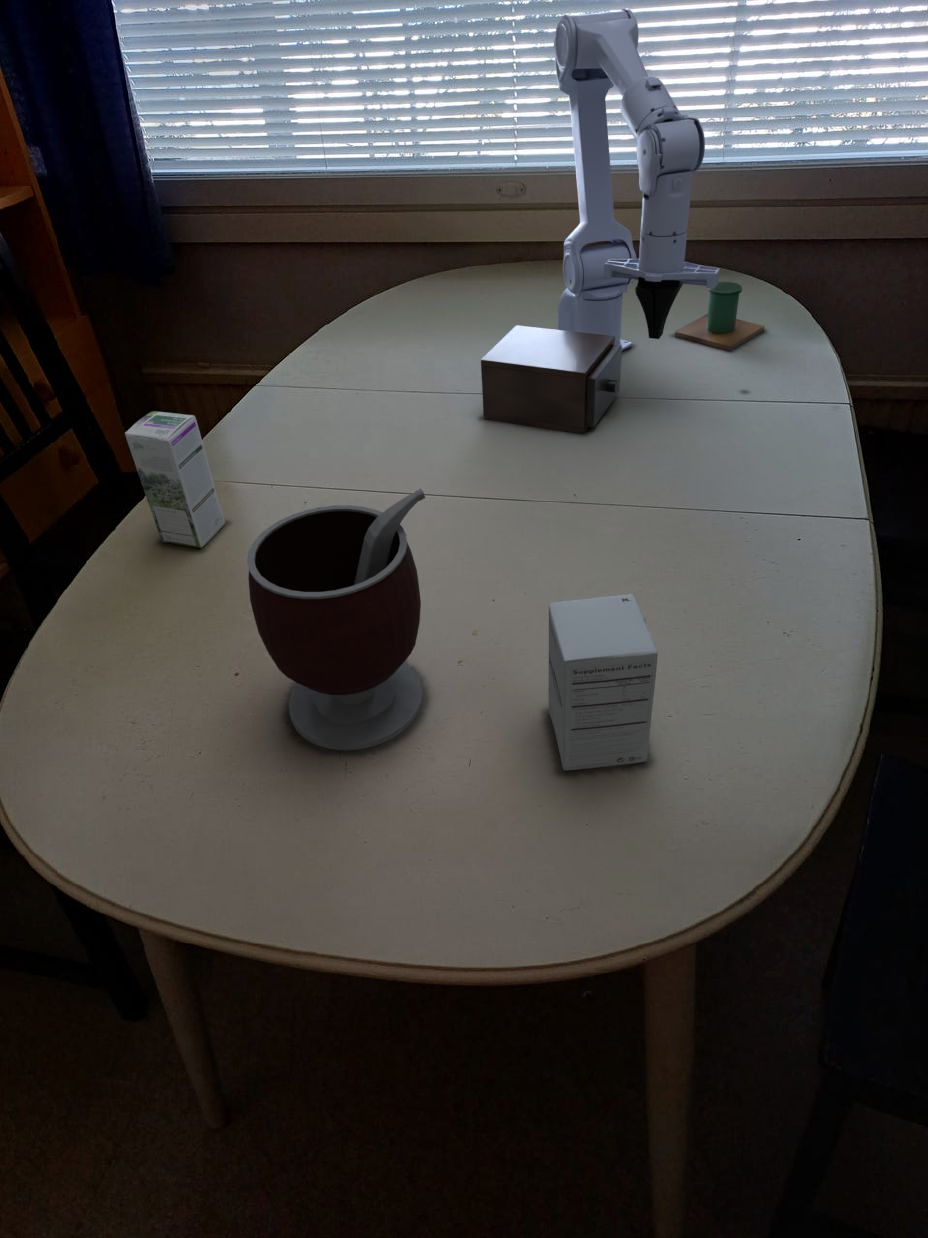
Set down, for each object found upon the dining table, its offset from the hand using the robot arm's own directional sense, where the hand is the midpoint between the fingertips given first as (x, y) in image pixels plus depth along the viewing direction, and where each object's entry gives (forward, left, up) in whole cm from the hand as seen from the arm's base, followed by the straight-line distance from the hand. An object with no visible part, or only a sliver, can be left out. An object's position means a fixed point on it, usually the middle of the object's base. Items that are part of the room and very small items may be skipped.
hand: (655, 335), depth 120 cm
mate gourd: (+15, -66, -10) cm, 68 cm away
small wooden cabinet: (-10, -10, -9) cm, 17 cm away
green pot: (-5, +26, -9) cm, 28 cm away
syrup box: (-22, -61, -10) cm, 66 cm away
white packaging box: (+34, -56, -10) cm, 66 cm away
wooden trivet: (-5, +26, -9) cm, 28 cm away
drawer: (-8, -9, -8) cm, 15 cm away
